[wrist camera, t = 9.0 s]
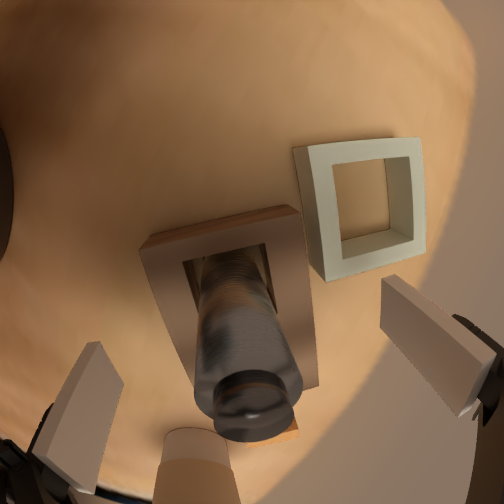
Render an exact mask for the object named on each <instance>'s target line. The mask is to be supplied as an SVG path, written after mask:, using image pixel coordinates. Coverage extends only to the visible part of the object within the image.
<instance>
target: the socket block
mask: <svg viewBox="0 0 504 504" xmlns="http://www.w3.org/2000/svg"><path fill="white" fill-rule="evenodd" d="M257 244H260V248H261V253H262V258H263V264H264V269H265V274H266V279H267V284H268V290H269V292H268V294H269V297H270V299H271V301H272V304H273V306H274V309H275V311H276V314H277V316H278V319H279V321H280V324H281V326H282V329H283V331H284V334H285V336H286V339H287V341H288V344H289V346H290V349H291V351H292V353H293V356H294V358H295V361H296V363H297V366H298V368H299V371H300V373H301V376H302V379H303V391H304V390H307V389H311V388H314V387H317V386H319V378H318V364H317V350H316V338H315V327H314V317H313V307H312V297H311V288H310V279H309V271H308V263H307V255H306V248H305V240H304V233H303V226H302V219H301V213H300V212H298V211H297V210H295V209H293V208H292V207H290V206H289V205H287V204H286V205H281V206H276V207H271V208H267V209H262V210H257V211H253V212H248V213H243V214H239V215H234V216H230V217H225V218H221V219H217V220H212V221H208V222H204V223H200V224H195V225H191V226H187V227H183V228H179V229H175V230H171V231H167V232H163V233H159V234H155V235H151V236H150V237H149V238H148V239H147V240H146V241H145V243H144V244H143V245H142V246H141V248H140V249H139V253H140V257H141V260H142V263H143V266H144V269H145V272H146V274H147V277H148V280H149V283H150V286H151V289H152V291H153V294H154V297H155V299H156V302H157V305H158V307H159V310H160V312H161V315H162V318H163V320H164V323H165V325H166V327H167V330H168V332H169V335H170V337H171V339H172V342H173V344H174V346H175V349H176V351H177V353H178V355H179V358H180V360H181V362H182V364H183V366H184V369H185V371H186V373H187V375H188V377H189V379H190V381H191V383H192V385H193V387H194V379H195V359H196V342H197V327H198V313H199V300H200V289H199V286H198V282H197V279H196V276H195V272H194V269H193V265H192V262H191V259H196V258H200V257H204V256H209V255H213V254H217V253H222V252H226V251H231V250H235V249H239V248H244V247H248V246H253V245H257Z"/></svg>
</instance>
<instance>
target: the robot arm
mask: <svg viewBox="0 0 504 504" xmlns="http://www.w3.org/2000/svg"><path fill="white" fill-rule="evenodd" d="M12 206H13V187H12V172H11V164H10V158H9V153H8V148H7V145H6V141H5V138H4V135H3V133H2V131H1V128H0V260H1V258H2V256H3V254H4V251H5V248H6V245H7V242H8V238H9V233H10V227H11V219H12ZM380 328H381V329H382V330H383V331H384V333H385V334H386V335H387V336H388V337H389V338H390V339H391V340H392V341H393V343H394V344H395V345H396V346H397V347H398V348H399V349H400V350H401V352H402V353H403V354H404V355H405V356H406V357H407V358H408V360H410V362H411V363H412V364H413V365H414V366H415V368H416V369H417V370H418V371H419V372H420V373H421V375H422V376H423V377H424V378H425V379H426V380H427V382H428V383H429V384H430V385H431V386H432V388H433V389H434V390H435V391H436V392H437V394H438V395H439V396H440V397H441V398H442V400H443V401H444V402H445V403H446V404H447V406H448V407H449V408H450V409H451V411H452V412H453V413H454V414H455V416H456V417H457V418H458V417H460V416H461V415H462V414H464V413H465V412H467V411H468V410H469V409H471V408H472V406H473V404H474V402H475V401H476V398H478V399H479V400H480V401H481V403H480V405H479V406H478V408H477V410H476V412H475V413H474V415H473V418H472V420H475V418H476V417H477V415H478V413H479V415H478V432H477V442H476V451H475V459H474V465H473V472H472V477H471V482H470V487H469V491H468V496H467V500H466V503H465V504H504V348H503V347H502V346H500V345H499V344H498V343H497V342H495V341H494V340H493V339H492V338H491V337H489V336H488V335H487V334H486V333H484V332H483V331H481V329H479V328H478V327H477V326H474V324H473V323H472V322H470V321H469V320H468V319H466V318H464V317H462V316H459V315H456V314H454V315H452V316H450V315H449V314H448V313H447V312H445V311H444V310H443V309H441V308H440V307H439V306H438V305H436V304H435V303H434V302H432V301H431V300H430V299H428V298H427V297H426V296H424V295H423V294H422V293H420V292H419V291H417V290H416V289H415V288H413V287H412V286H411V285H409V284H408V283H406V282H405V281H404V280H402V279H401V278H399V277H398V276H397V275H395V274H394V275H391V276H388V277H385V278H381V316H380ZM123 386H124V383H123V381H122V380H121V378H120V376H119V375H118V373H117V371H116V370H115V368H114V366H113V364H112V363H111V361H110V359H109V357H108V356H107V354H106V352H105V350H104V348H103V346H102V344H101V343H100V341H97V342H90V343H87V344H86V346H85V347H84V349H83V351H82V353H81V354H80V356H79V358H78V360H77V361H76V363H75V365H74V367H73V368H72V370H71V372H70V374H69V376H68V377H67V379H66V381H65V383H64V385H63V387H62V389H61V391H60V392H59V394H58V396H57V398H56V400H55V402H54V403H52V404H51V406H50V407H49V408H48V409H47V410H46V411H45V413H44V415H43V417H42V421H41V422H40V424H39V426H38V427H39V428H37V430H36V432H35V434H34V437H33V439H32V441H31V443H30V446H29V448H28V450H27V453H26V454H25V453H24V452H23V451H22V450H21V449H20V448H19V447H18V446H17V445H16V444H15V443H14V442H13V441H12V440H9V439H5V440H2V441H1V442H0V504H8V503H7V502H6V497H8V498H9V499H10V500H12V501H13V502H15V504H78V503H77V501H76V499H75V497H74V495H73V494H72V492H71V491H70V490H68V488H69V485H71V486H72V487H74V488H75V489H76V490H78V491H80V492H84V493H89V494H94V493H95V488H96V483H97V479H98V474H99V470H100V466H101V462H102V458H103V454H104V450H105V446H106V443H107V439H108V435H109V432H110V428H111V425H112V421H113V418H114V414H115V411H116V408H117V405H118V401H119V398H120V395H121V392H122V389H123Z"/></svg>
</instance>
